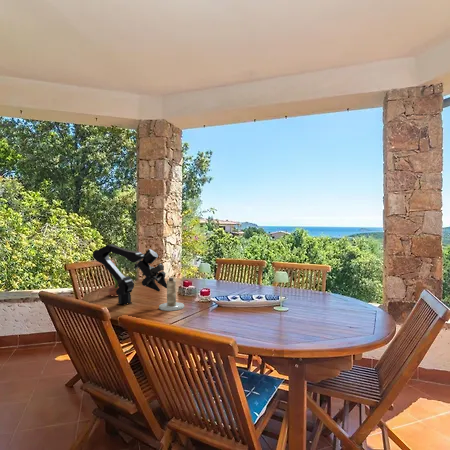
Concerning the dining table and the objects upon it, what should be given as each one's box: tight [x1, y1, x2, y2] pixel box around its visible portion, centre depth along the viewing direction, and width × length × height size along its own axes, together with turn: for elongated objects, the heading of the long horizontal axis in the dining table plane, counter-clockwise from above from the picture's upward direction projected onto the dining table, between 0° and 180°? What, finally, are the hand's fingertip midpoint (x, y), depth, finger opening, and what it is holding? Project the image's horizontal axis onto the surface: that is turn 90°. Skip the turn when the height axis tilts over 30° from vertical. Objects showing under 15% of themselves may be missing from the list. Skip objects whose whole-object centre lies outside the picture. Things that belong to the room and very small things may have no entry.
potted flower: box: [107, 258, 122, 297], centre depth 222 cm, size 12×10×25 cm
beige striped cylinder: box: [166, 277, 177, 306], centre depth 189 cm, size 5×5×16 cm
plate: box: [158, 301, 185, 312], centre depth 189 cm, size 14×14×1 cm
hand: (163, 289), depth 191 cm, fingers open, 9 cm apart
